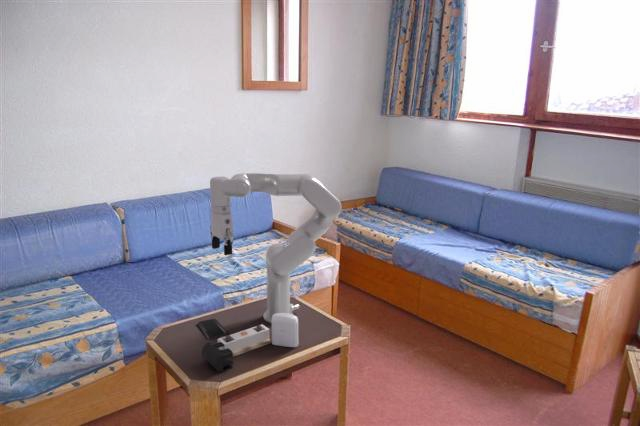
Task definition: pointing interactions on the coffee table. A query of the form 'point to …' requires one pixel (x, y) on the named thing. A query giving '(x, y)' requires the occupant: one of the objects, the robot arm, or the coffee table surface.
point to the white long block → (245, 338)
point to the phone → (212, 329)
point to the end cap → (217, 356)
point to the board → (243, 350)
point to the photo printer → (285, 330)
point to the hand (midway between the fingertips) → (222, 251)
